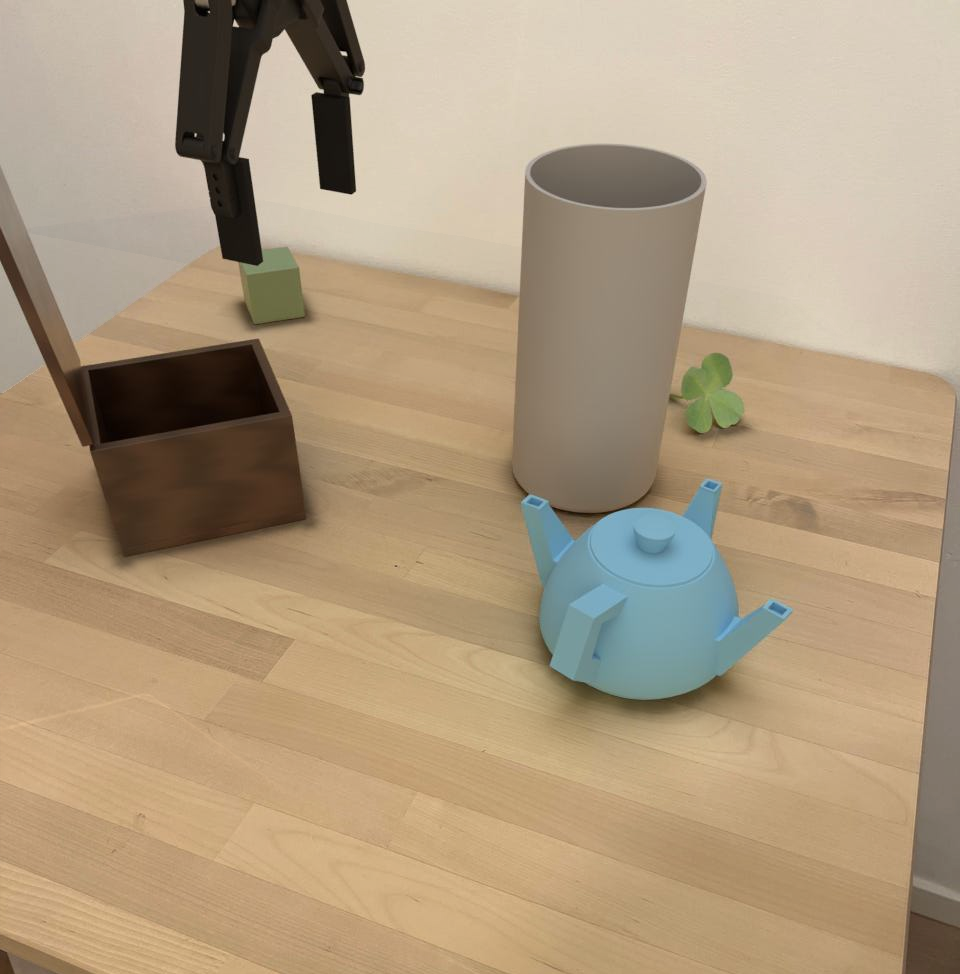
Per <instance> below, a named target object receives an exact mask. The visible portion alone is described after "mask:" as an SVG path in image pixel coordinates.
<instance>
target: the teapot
mask: <svg viewBox="0 0 960 974" xmlns="http://www.w3.org/2000/svg"><path fill="white" fill-rule="evenodd" d="M723 484H724V483H722V482H720V481H717V480H716V479H715V480H714V479H711V478H709V477H707V478H706V479H705V480H703V482H702V483H701V484H700V485H699V486H698V490H697V491H696V493H695V494H694V496H693V497H692V500H691V501H690V503H689V504H688V506H687V508H686V509H685V510H684V512H683V514H682V515H680V514H677V513H675V512H672V511H668V510H665V509H659V508H654V507H653V508H652V507H631V508H626V509H622V510H619V511H615V512H612V513H609V514H608V515H606V516H604V517H602V518H601V519H600V520H598V521H597V522H595V523H594V524H593V525H591V526H590V527H589V528H588V529H586V531H584V532H583V533H582V534H581V535H580V536H579V537H578V538H577V539H576V540H575V538H573V537H572V535H571V534H570V532H569V531H568V529H567V528H566V527H565V525H564V524H563V523H562V521H561V520H560V518H559V517H558V515H557V514H556V513H555V511H554V510H553V507H552V506H550V505H549V501H547V500H545V499H542V498H539V497H537V496H534V495H531V494H528V495H527V496H526V497H525V498H524V499H523V500H522V501H521V502H520V508H521V511H522V515H523V520H524V523H525V527H526V530H527V531H526V532H527V535H528V538H529V542H530V546H531V550H532V554H533V558H534V561H535V565H536V569H537V573H538V577H539V580H540V585H541V587H542V588H544V589H543V591H542V595H541V599H540V604H539V610H538V611H539V612H538V624H539V629H540V632H541V635H542V638H543V641H544V643H545V645H546V647H547V649H548V651H549V652H550V654H551V655H552V656H551V661H550V664H549V667H550V668H552V669H554V670H555V671H557V672H558V673H559V674H561V675H563V676H565V677H566V678H568V679H570V680H571V681H573V682H580V683H585V684H586V685H588V686H590V687H592V688H594V689H596V690H598V691H600V692H603V693H605V694H608V695H611V696H615V697H619V698H621V699H622V698H623V699H628V700H638V701H647V700H649V701H650V700H651V701H652V700H660V699H662V700H663V699H668V698H673V697H676V696H680V695H684V694H686V693H689V692H692V691H694V690H697V689H699V688H700V687H702V686H704V685H707V683H709V682H710V681H712V680H713V679H714V678H715V677H717V676H720V677H722V676H723V675H724V674H725V673H726V672H727V671H728V670H730V668H732V667H733V666H734V665H735V664H737V663H738V662H739V661H741V660H742V658H744V657H745V656H746V655H747V654H748V653H749V652H751V651H752V650H753V649H754V648H755V647H756V646H758V645H759V644H760V643H761V642H762V641H763V640H764V639H765V638H766V637H768V636H769V635H770V634H771V633H772V632H774V631H775V630H776V629H777V628H778V627H779V626H781V625H782V624H783V623H784V622H785V621H786V620H787V619H788V618H789V617H790V616H791V615H792V613H793V611H794V609H793V608H792V607H789V606H787V605H786V604H784V603H782V602H781V601H778V600H777V599H774V598H773V597H771V598H770V599H768V601H767V602H766V603H764V604H763V605H761V606H760V607H758V608H756V609H755V610H753V611H752V612H750V613H747V615H745V616H743V617H740V607H739V606H740V605H739V599H738V594H737V590H736V585H735V583H734V581H733V578H732V576H731V573H730V570H729V568H728V566H727V564H726V562H725V560H724V558H723V557H722V555H721V552H720V550H719V549H718V548H717V546H716V544H715V543H714V542H713V540H712V539H713V534H714V529H715V524H716V518H717V513H718V509H719V503H720V499H721V494H722V490H723V489H722V488H723Z"/></svg>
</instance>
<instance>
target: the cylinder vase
mask: <svg viewBox="0 0 960 974" xmlns="http://www.w3.org/2000/svg"><path fill="white" fill-rule="evenodd" d="M707 182H708V181H707V177H706V174H705V173H704V171H703V170H702V169H701V168H700V167H698V166H697V165H696V164H695V163H693V162H691V161H689V160H688V159H686V158H683V157H681V156H679V155H676V154H673V153H670V152H667V151H664V150H660V149H655V148H651V147H647V146H641V145H632V144H623V143H585V144H584V143H583V144H575V145H574V144H573V145H568V146H563V147H558V148H554V149H551V150H549V151H546V152H545V151H544V152H543V153H540V154H539V155H537V156H535V157H534V158H532V159H531V160H530V161H529V162H528V164H527V165H526V167H525V169H524V186H523V187H524V188H523V190H524V191H523V211H522V231H521V233H522V234H521V253H520V254H521V256H520V276H519V277H520V278H519V299H518V317H517V318H518V319H517V338H516V339H517V342H516V362H515V363H516V364H515V381H514V382H515V385H514V406H513V407H514V409H513V426H512V427H513V428H512V429H513V431H512V432H513V433H512V447H511V448H512V450H511V451H512V452H511V468H512V473H513V476H514V479H515V480H516V481H517V483H518V484H519V486H520V487H521V488H522V489H523V490H524V491H525V492H526V493H527V494H528V495H529V494H531V495H534V496H537V497H539V498H542V499H545V500H547V501H549V505H550V507H551V508H555V509H558V510H562V511H567V512H571V513H572V512H573V513H578V514H579V513H581V514H599V513H608V512H613V511H617V510H620V509H623V508H626V507H628V506H630V505H632V504H634V503H636V502H638V501H639V500H640V499H642V497H644V496H645V495H646V494H647V493H648V492H649V491H650V489H651V488H652V486H653V484H654V482H655V479H656V475H657V469H658V463H659V458H660V454H661V453H660V452H661V446H662V442H663V435H664V430H665V423H666V418H667V411H668V406H669V401H670V397H671V396H670V394H671V390H672V384H673V380H674V379H673V378H674V372H675V366H676V360H677V354H678V349H679V343H680V338H681V332H682V325H683V320H684V316H685V309H686V303H687V297H688V293H689V286H690V280H691V274H692V269H693V264H694V257H695V252H696V247H697V242H698V241H697V240H698V235H699V228H700V222H701V218H702V217H701V216H702V211H703V205H704V201H705V200H704V199H705V195H706V189H707ZM669 396H670V397H669Z"/></svg>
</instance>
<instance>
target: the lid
mask: <svg viewBox="0 0 960 974" xmlns="http://www.w3.org/2000/svg"><path fill="white" fill-rule="evenodd" d="M38 256H39V255H38V254H37V252H36V249H35V246H34V244H33V242H32V240H31V236H30V234H29V233H28V229H27V227H26V225H25V223H24V220H23V217H22V214H21V213H20V211H19V208H18V206H17V203H16V201H15V198H14V196H13V193H12V191H11V188H10V186H9V184H8V181H7V179H6V176H5V173H4V172H3V169H2V166H1V165H0V264H1V266H2V269H3V271H4V273H5V274H6V277H7V279H8V282H9V284H10V286H11V289H12V291H13V293H14V296H15V298H16V300H17V302H18V304H19V307H20V310H21V311H22V313H23V315H24V318H25V321H26V323H27V325H28V328H29V330H30V332H31V334H32V337H33V338H34V341H35V343H36V345H37V348H38V350H39V352H40V354H41V357H42V359H43V361H44V364H45V365H46V369H47V371H48V373H49V375H50V377H51V379H52V381H53V384H54V386H55V388H56V390H57V393H58V396H59V397H60V399H61V402H62V404H63V407H64V409H65V411H66V413H67V415H68V417H69V419H70V422H71V425H72V427H73V429H74V431H75V434H76V436H77V439H78V440H79V443H80V445H81V446H82V447H83V448H85V447H87V446H89V445H92V444H93V438H92V431H91V425H90V419H89V413H88V406H87V400H86V394H85V388H84V381H83V375H82V369H81V366H82V363H81V359H80V356H79V353H78V350H77V349H76V346H75V343H74V341H73V339H72V337H71V335H70V332H69V329H68V327H67V325H66V322H65V320H64V319H65V318H64V317H63V315H62V312H61V310H60V308H59V304H58V302H57V300H56V298H55V295H54V293H53V290H52V288H51V286H50V285H51V284H50V283H49V281H48V278H47V276H46V273H45V271H44V269H43V265H42V264H41V262H40V259H39V257H38Z"/></svg>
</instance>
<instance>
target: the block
mask: <svg viewBox="0 0 960 974" xmlns="http://www.w3.org/2000/svg"><path fill="white" fill-rule="evenodd" d="M262 255H263V262H262V263H261V264H259V265H258V266H255V265H250V264H245V263H241V262H237V263H238V269H239V275H240V282H241V287H242V293H243V299H244V300H243V301H244V304H245V306H246V308H247V310H248V312H249V315H250V317H251V320H252V322H253V324H254V325H261V324H266V323H273V322H279V321H287V320H293V319H299V318H305V317H306V313H305V312H306V311H305V305H304V304H305V303H304V297H303V288H302V280H301V270H300V266H299V265H298V263H297V261H296V259H295V257H294V255H293V254H292V252H291V250H290V248H289V246H279V247H274V248H265V249H262Z"/></svg>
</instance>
